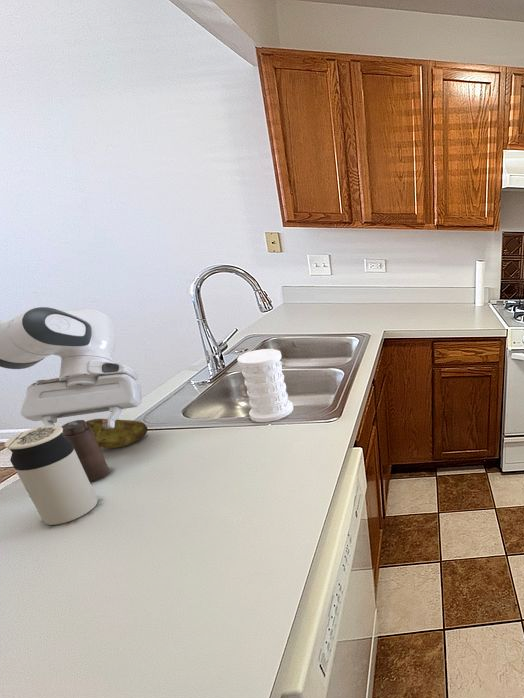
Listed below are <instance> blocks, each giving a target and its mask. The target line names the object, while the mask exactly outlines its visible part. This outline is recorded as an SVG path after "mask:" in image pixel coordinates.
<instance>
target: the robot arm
mask: <svg viewBox="0 0 524 698" xmlns="http://www.w3.org/2000/svg"><path fill="white" fill-rule="evenodd" d="M115 329H116V328H115V325H114V323H113V320H112V319H111V317H110V316H109V315H108V314H106V313H105V312H102V311H99V310H96V309H91V308H77V309H73V310H60V309H57V308H54V307H47V306H40V307H39V306H38V307H34V308H30V309H28V310H27V311H25V312H23V313H20V314H18V315H16V316H14V317H13V318H11V319H10V320H7V321H4V320H2V319H0V368H4V369H7V370H8V369H10V370H23V369H27V368H31V367H34V366H35V365H36V364H38V363H39V362H41V361H43V360H45V359H46V358H47V357H49V356H52V355H54V356H57V357H60V368H59V377H55V378H50V379H38V380H36V381H35V382H33V383H31V384H30V385H28V386H27V388H26V391H25V392H26V393H25V397H24V400H23V402H22V406H21V409H20V415H21V417H23V418H24V419H27V420H29V421H31V422H39V421H40V422H42V423H43V425H44V426H51V425H55V424H56V423H58V419H62V418H69V417H76V416H82V415H90V414H98V413H104V412H110V414H109V416H108V417H107V418H105V419H106V420H103V422H102V423H103V425H102V427H103V428H105V429H109V428H114V427H115V421H116V420H118V419H119V417H120V416H121V414H122V413H123V410H124V409H125V410H126V409H132V408H137V407H139V406H140V404H141V403H142V399H143V398H142V396H143V395H142V388H141V387H142V386H141V384H140V383H139V381H137V380H138V379H139V374H138V373H137V372H136V371H135V370H134V369H132V367H130V366H128V365H126V364H124V363H119V362H114V359H113V353H114V352H115V348H116V330H115Z"/></svg>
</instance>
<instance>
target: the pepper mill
mask: <svg viewBox="0 0 524 698" xmlns="http://www.w3.org/2000/svg"><path fill="white" fill-rule="evenodd" d="M61 427H62V428H63V431H62V435H63V437H65V438H67V439H69V440H70V441H71V443H72V445H73V447H74V450H75V452H76V454H77V456H78V458H79V460H80V462H81V465H82V467H83V469H84V471H85V473H86V475H87V478H88V480H89V482H90V483H93V482H97V481H100V480H102V479H103V478H106V477H108V475H110V473H111V470H110V467H109V465H108V462H107V460H106V458H105V456H104V453H103V451H102V449H101V447H99V444H98V442H97V440H96V437H95V435H94V433H93V430H92V428H91V426H89V425H86V420H84V419H78V420H77V419H76V420H73V421H68V422H66V423H64V424H62V425H61Z"/></svg>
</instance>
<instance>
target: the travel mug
mask: <svg viewBox="0 0 524 698" xmlns="http://www.w3.org/2000/svg"><path fill="white" fill-rule="evenodd" d="M62 431H63V428H62V425H61V426H60V425H57V424H56V425H55V424H54V425H51V426H45V425H44V426H39V427H34V428H31V429H28V430H25V431H22V432H19V433H18V434H17V433H16V435H13V436H12V437H10V438H8V439H7V440H6V441H5V442H4V447H5V448H6V449H8V450H9V451H10V452H11V456H10V460H9V461H10V463H11V465H12V467H13V468H14V471H15V472H16V474H17V476H18V478H19V479H20V481H21V483H22V485H23V487H24V488H25V490H26V492H27V494H28V496H29V498H30V500H31V501H32V503H33V505H34V507H35V508H36V509H35V510H36V511H37V512H38V515H39V516H40V518H41V520H42V521H43V523H44V524H45V525H48V526H49V525H50V526H52V525H62V524H65V523H68V522H71V521H74V520H77V519H78V518H81V517H83V516H84V515H86V514H87V513H89V512H90V511H92V510H93V509H94V508H95V507H96V505H97V504H98V501H99V500H98V496H97V495H96V493H95V490H94V489H93V486H92V485H91V482H89V480H88V478H87V475H86V473H85V471H84V469H83V467H82V465H81V462H80V460H79V458H78V456H77V454H76V452H75V450H74V447H73V445H72V443H71V441H70V440H69V439H67V438H65V437H63V435H62V433H63V432H62Z"/></svg>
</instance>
